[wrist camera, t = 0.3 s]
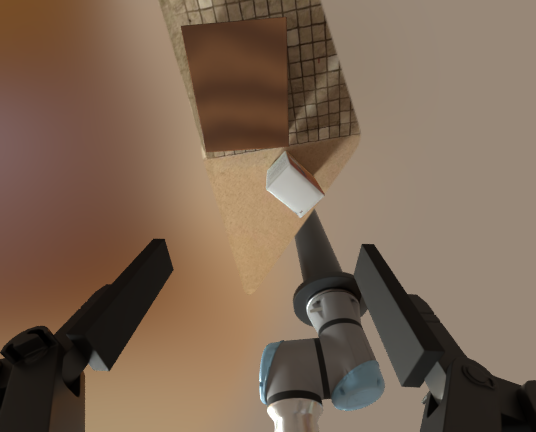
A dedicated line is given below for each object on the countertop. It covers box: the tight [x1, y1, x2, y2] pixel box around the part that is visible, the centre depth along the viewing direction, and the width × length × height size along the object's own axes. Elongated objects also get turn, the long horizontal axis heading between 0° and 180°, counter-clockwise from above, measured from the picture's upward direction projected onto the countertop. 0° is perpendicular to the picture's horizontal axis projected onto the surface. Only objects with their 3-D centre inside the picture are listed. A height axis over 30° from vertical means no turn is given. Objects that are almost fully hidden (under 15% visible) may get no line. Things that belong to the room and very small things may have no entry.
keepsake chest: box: [181, 17, 289, 152], centre depth 31 cm, size 14×12×10 cm
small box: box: [266, 151, 325, 218], centre depth 37 cm, size 8×6×10 cm
